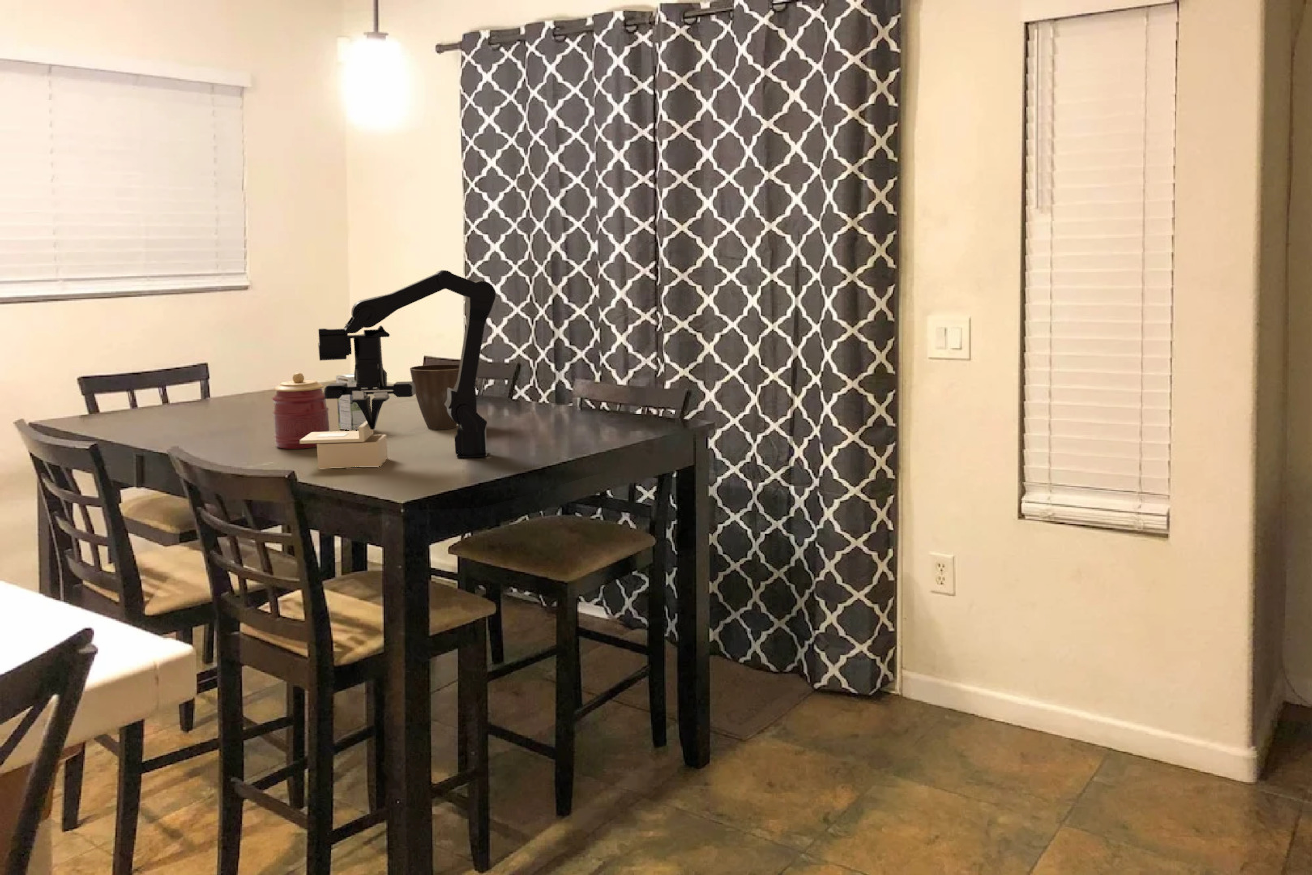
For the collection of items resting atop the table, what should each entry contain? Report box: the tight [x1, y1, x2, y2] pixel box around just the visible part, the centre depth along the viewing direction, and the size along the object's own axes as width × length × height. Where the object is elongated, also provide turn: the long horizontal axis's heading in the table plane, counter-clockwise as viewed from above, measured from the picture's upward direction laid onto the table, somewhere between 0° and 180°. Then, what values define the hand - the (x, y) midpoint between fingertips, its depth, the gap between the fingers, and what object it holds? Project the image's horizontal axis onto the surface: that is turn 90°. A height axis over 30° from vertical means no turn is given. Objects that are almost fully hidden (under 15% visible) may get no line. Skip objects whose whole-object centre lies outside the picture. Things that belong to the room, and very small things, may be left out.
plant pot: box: [409, 363, 460, 430], centre depth 288 cm, size 15×15×16 cm
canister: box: [271, 372, 331, 450], centre depth 266 cm, size 13×13×18 cm
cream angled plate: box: [300, 421, 374, 444], centre depth 241 cm, size 14×11×3 cm
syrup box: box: [335, 373, 369, 431], centre depth 287 cm, size 6×6×14 cm
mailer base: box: [316, 434, 388, 469], centre depth 242 cm, size 13×10×6 cm
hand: (372, 429), depth 241 cm, fingers closed
